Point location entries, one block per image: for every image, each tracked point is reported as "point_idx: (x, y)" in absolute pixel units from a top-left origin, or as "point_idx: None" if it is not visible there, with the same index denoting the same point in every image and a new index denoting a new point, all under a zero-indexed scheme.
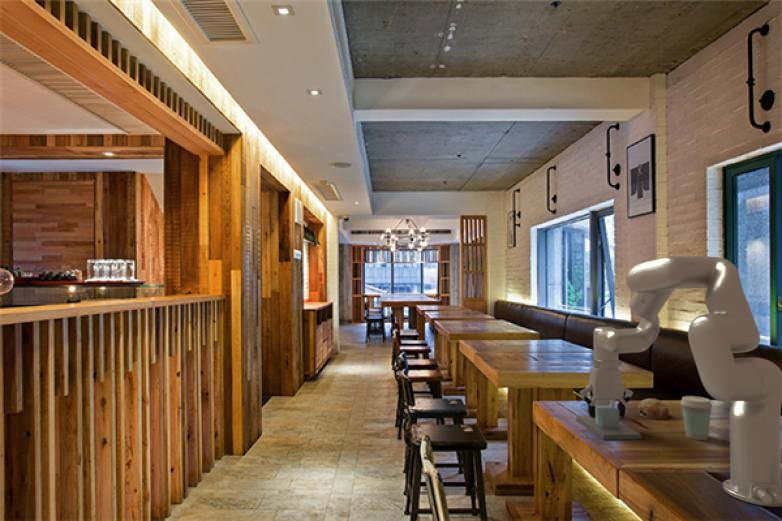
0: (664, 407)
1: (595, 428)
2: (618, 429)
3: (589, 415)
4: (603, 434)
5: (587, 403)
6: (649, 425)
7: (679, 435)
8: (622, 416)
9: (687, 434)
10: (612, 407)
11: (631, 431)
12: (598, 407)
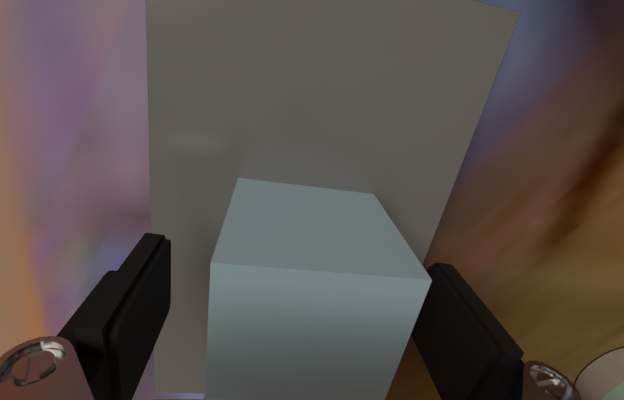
0: None
1: None
2: None
3: (146, 236)
4: (160, 387)
5: (24, 360)
6: (621, 202)
7: (577, 350)
8: (412, 330)
9: (589, 385)
10: (389, 342)
11: None
12: (221, 328)
